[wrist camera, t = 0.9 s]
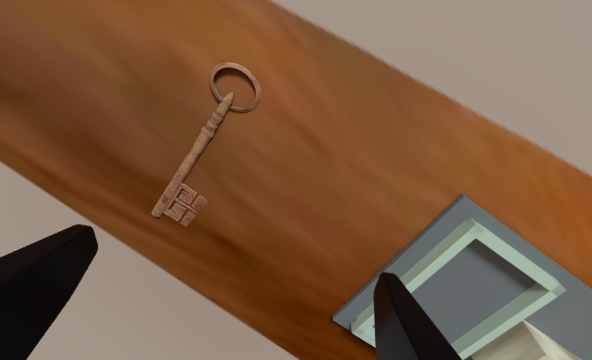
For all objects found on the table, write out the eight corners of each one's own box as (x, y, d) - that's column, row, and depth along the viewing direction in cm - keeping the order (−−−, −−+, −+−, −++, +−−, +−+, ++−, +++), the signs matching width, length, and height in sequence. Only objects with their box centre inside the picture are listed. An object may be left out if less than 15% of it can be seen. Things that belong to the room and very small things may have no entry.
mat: (661, 339, 25) (667, 345, 25) (503, 423, 31) (506, 428, 31) (461, 193, 23) (464, 196, 22) (332, 315, 29) (332, 319, 28)
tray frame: (556, 279, 24) (567, 290, 23) (426, 369, 29) (430, 382, 28) (469, 216, 23) (476, 224, 22) (351, 322, 28) (351, 332, 27)
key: (196, 233, 28) (292, 102, 22) (192, 239, 27) (291, 104, 21) (138, 199, 27) (224, 50, 21) (133, 204, 26) (221, 51, 20)
